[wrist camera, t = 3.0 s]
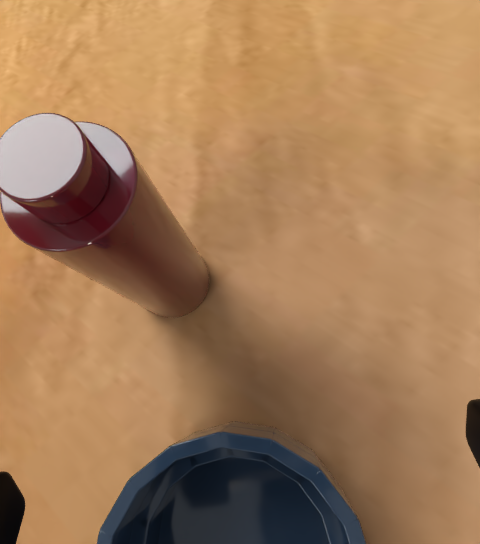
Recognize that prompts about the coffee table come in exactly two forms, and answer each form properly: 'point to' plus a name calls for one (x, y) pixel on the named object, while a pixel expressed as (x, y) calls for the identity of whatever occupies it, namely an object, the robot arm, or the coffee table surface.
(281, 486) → the pot
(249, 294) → the coffee table surface
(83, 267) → the bottle
